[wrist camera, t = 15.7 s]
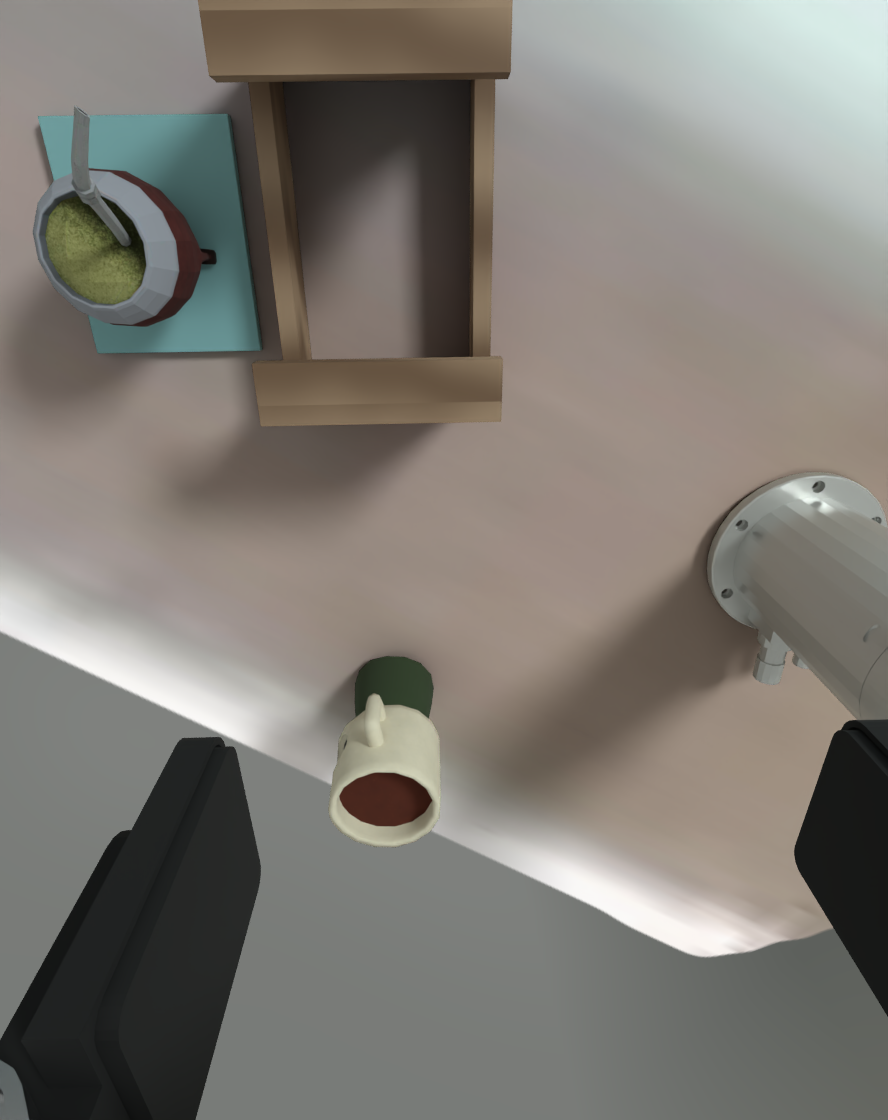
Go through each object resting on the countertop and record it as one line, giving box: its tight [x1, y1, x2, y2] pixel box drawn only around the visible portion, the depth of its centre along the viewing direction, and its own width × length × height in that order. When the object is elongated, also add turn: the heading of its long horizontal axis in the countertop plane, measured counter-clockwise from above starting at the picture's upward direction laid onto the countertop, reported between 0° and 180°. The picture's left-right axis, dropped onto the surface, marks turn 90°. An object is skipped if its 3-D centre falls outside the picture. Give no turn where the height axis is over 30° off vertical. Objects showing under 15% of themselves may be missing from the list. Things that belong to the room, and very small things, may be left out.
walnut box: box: [198, 0, 512, 426], centre depth 31 cm, size 17×12×10 cm
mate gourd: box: [33, 106, 217, 327], centre depth 28 cm, size 8×8×15 cm
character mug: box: [328, 656, 441, 847], centre depth 44 cm, size 11×7×13 cm, turn 9°
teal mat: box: [38, 114, 263, 353], centre depth 35 cm, size 12×10×1 cm
